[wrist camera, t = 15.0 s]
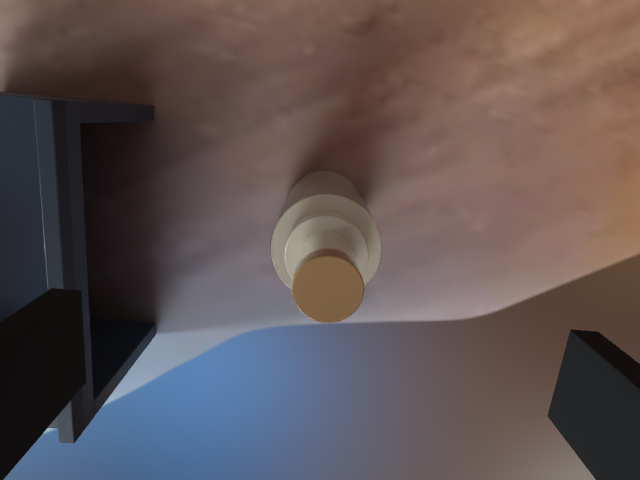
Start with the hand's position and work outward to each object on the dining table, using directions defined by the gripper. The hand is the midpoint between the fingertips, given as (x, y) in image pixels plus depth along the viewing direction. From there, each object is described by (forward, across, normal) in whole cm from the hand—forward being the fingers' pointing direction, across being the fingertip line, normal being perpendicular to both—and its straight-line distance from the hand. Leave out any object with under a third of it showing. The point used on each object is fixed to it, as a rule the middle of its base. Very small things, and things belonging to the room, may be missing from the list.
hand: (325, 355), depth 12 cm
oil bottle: (+21, 0, 0) cm, 21 cm away
